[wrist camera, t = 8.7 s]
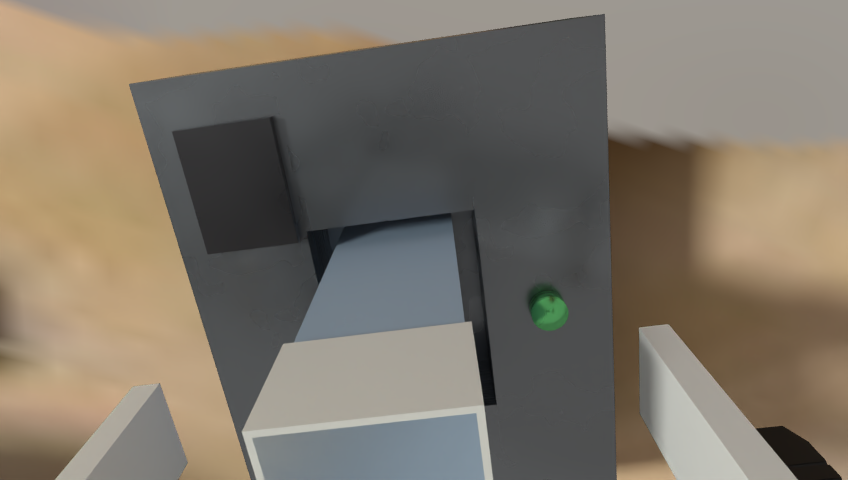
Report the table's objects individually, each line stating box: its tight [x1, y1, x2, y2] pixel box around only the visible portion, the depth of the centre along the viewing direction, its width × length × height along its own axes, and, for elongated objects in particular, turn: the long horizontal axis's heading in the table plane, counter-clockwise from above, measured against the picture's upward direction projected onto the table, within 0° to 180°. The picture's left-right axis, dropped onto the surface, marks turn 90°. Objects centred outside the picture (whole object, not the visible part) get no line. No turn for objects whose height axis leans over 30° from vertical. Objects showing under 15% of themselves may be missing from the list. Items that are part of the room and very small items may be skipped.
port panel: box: [129, 14, 617, 480], centre depth 21 cm, size 14×18×5 cm
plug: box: [242, 213, 493, 480], centre depth 16 cm, size 4×6×12 cm
